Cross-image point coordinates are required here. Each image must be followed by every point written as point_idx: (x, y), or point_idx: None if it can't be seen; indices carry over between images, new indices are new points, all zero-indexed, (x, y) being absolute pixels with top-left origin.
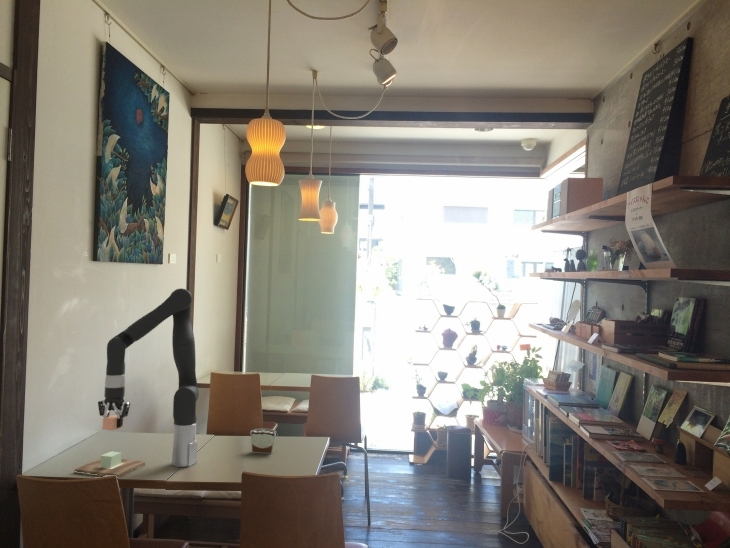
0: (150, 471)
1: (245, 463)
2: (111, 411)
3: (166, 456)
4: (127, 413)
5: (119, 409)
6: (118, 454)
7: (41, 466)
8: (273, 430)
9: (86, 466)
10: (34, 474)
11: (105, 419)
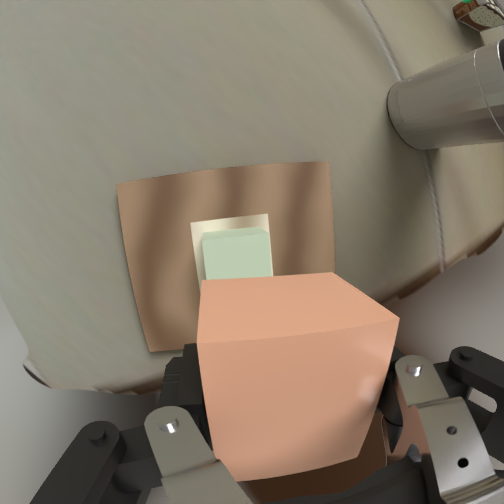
0: (380, 216)
1: None
2: (220, 461)
3: (317, 50)
4: (490, 369)
5: (421, 449)
6: (270, 256)
7: (23, 327)
8: (500, 5)
9: (157, 313)
10: (74, 384)
11: (255, 470)
